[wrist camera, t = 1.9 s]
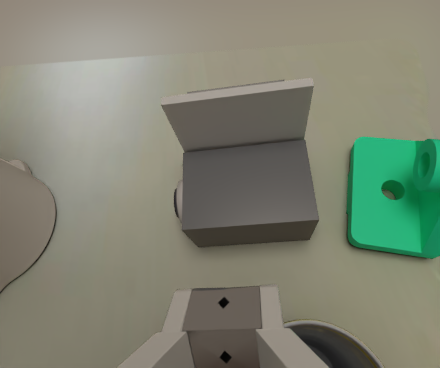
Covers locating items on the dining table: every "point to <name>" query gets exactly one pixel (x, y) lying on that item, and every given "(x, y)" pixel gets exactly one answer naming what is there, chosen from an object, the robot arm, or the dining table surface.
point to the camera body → (247, 195)
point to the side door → (240, 114)
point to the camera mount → (404, 192)
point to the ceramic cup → (334, 344)
